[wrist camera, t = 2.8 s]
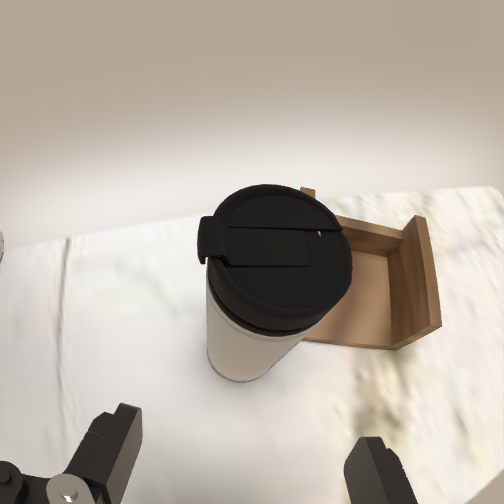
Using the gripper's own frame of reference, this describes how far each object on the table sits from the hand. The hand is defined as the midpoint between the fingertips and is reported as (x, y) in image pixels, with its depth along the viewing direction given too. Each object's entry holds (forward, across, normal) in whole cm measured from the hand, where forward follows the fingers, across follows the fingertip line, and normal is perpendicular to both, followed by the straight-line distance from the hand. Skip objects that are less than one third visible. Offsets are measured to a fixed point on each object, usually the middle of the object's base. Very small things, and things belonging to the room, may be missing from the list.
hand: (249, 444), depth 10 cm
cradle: (+24, -10, +2) cm, 26 cm away
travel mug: (+18, 0, +8) cm, 20 cm away
